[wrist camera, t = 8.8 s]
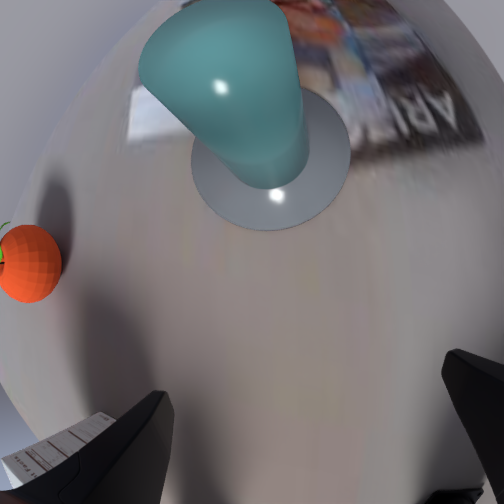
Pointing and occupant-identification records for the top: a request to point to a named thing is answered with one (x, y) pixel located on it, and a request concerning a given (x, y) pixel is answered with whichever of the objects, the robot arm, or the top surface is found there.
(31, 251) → the clementine
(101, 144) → the top surface
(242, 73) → the cylinder
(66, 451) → the supplement box
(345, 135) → the coaster
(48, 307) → the top surface
